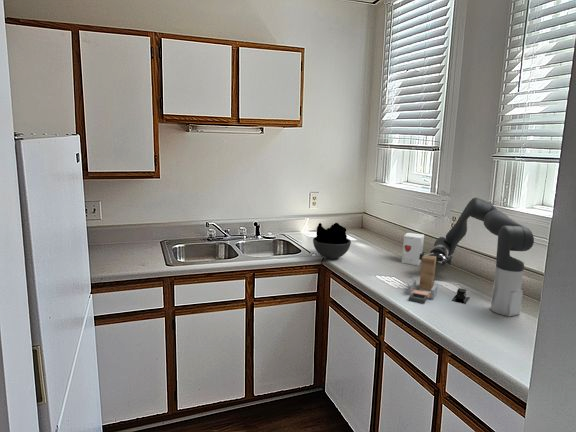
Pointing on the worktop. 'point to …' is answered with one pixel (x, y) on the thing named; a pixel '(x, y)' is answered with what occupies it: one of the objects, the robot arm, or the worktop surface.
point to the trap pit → (418, 298)
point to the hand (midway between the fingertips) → (432, 262)
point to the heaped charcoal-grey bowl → (331, 241)
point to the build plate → (461, 296)
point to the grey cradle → (430, 295)
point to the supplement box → (412, 248)
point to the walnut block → (427, 272)
